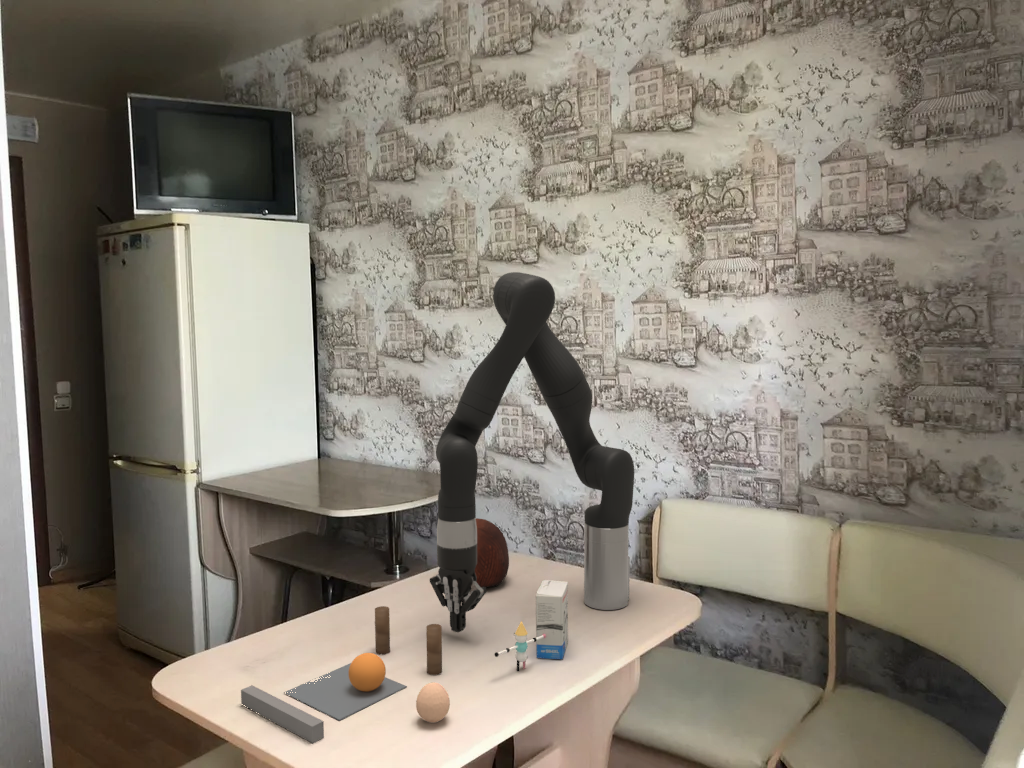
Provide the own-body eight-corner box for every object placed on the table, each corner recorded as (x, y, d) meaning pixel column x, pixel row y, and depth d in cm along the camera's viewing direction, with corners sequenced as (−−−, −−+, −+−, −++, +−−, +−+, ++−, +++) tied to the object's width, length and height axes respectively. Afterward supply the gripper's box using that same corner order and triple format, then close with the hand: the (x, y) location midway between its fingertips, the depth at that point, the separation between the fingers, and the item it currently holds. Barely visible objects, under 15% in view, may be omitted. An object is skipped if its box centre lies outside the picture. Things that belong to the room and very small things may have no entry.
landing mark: (351, 663, 143) (351, 662, 143) (406, 687, 135) (406, 686, 135) (283, 693, 133) (283, 692, 133) (339, 720, 124) (339, 719, 124)
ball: (350, 645, 134) (335, 681, 132) (379, 654, 131) (364, 692, 129) (369, 652, 139) (355, 688, 136) (397, 662, 136) (384, 699, 133)
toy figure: (540, 656, 146) (540, 610, 145) (549, 661, 144) (550, 613, 144) (489, 677, 138) (489, 628, 137) (499, 682, 136) (499, 632, 135)
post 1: (383, 647, 150) (382, 605, 150) (393, 651, 149) (392, 608, 148) (372, 651, 148) (371, 609, 148) (382, 655, 147) (381, 612, 146)
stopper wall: (252, 700, 130) (252, 685, 130) (323, 737, 119) (323, 721, 119) (241, 704, 129) (240, 689, 129) (312, 743, 118) (312, 726, 117)
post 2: (434, 666, 142) (433, 622, 141) (445, 671, 141) (444, 626, 140) (423, 672, 140) (423, 627, 139) (434, 676, 139) (434, 631, 138)
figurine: (459, 568, 195) (459, 507, 194) (519, 578, 188) (519, 514, 187) (427, 587, 182) (427, 521, 181) (490, 598, 175) (490, 530, 174)
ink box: (562, 660, 145) (562, 596, 144) (534, 658, 146) (535, 594, 145) (568, 641, 153) (569, 580, 152) (542, 639, 154) (542, 578, 153)
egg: (441, 709, 127) (441, 673, 127) (455, 724, 123) (455, 686, 122) (411, 717, 125) (410, 680, 124) (424, 732, 121) (423, 694, 120)
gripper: (497, 542, 151) (497, 633, 153) (445, 530, 160) (446, 616, 161) (470, 552, 146) (470, 646, 147) (417, 539, 154) (418, 627, 156)
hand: (457, 630), depth 154 cm, fingers closed
